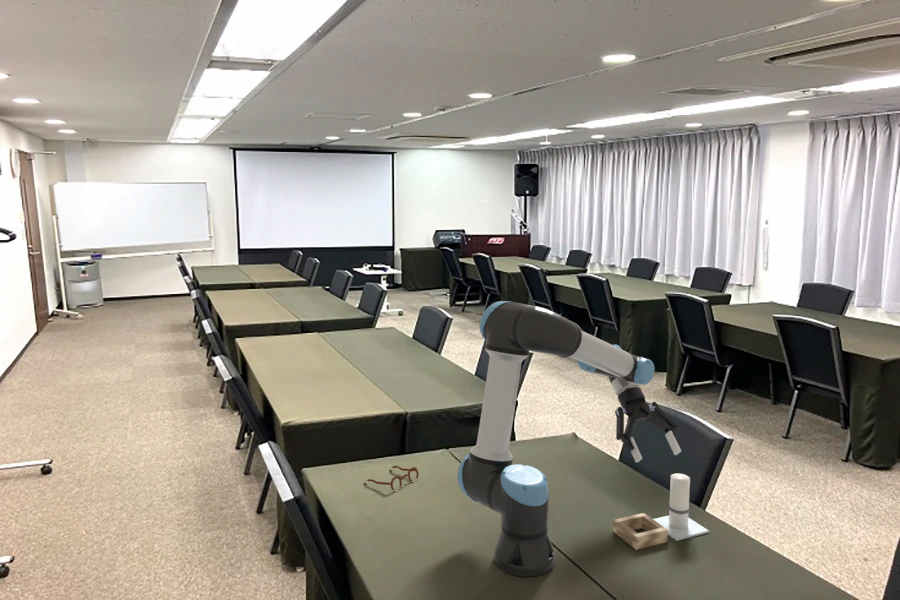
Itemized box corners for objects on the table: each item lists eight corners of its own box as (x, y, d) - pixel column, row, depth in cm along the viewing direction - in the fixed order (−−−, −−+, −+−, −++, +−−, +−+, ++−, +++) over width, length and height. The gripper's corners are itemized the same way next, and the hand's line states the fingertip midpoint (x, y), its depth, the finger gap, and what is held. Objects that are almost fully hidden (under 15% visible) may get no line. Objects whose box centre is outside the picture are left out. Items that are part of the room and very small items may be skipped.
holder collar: (636, 549, 168) (636, 537, 167) (613, 531, 177) (613, 519, 176) (667, 541, 171) (667, 529, 171) (643, 524, 180) (643, 512, 180)
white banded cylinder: (677, 531, 175) (679, 483, 173) (663, 522, 180) (665, 475, 178) (693, 527, 177) (695, 479, 175) (679, 518, 182) (681, 471, 180)
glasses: (393, 495, 202) (392, 480, 201) (362, 484, 210) (362, 470, 209) (419, 480, 212) (419, 465, 212) (389, 470, 220) (389, 457, 219)
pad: (676, 540, 172) (676, 538, 171) (649, 521, 182) (649, 519, 182) (708, 532, 175) (708, 530, 175) (680, 514, 186) (680, 512, 185)
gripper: (656, 393, 203) (687, 455, 192) (588, 402, 195) (616, 468, 183) (668, 381, 198) (700, 444, 186) (598, 390, 189) (628, 458, 177)
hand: (658, 456), depth 185 cm, fingers open, 13 cm apart
